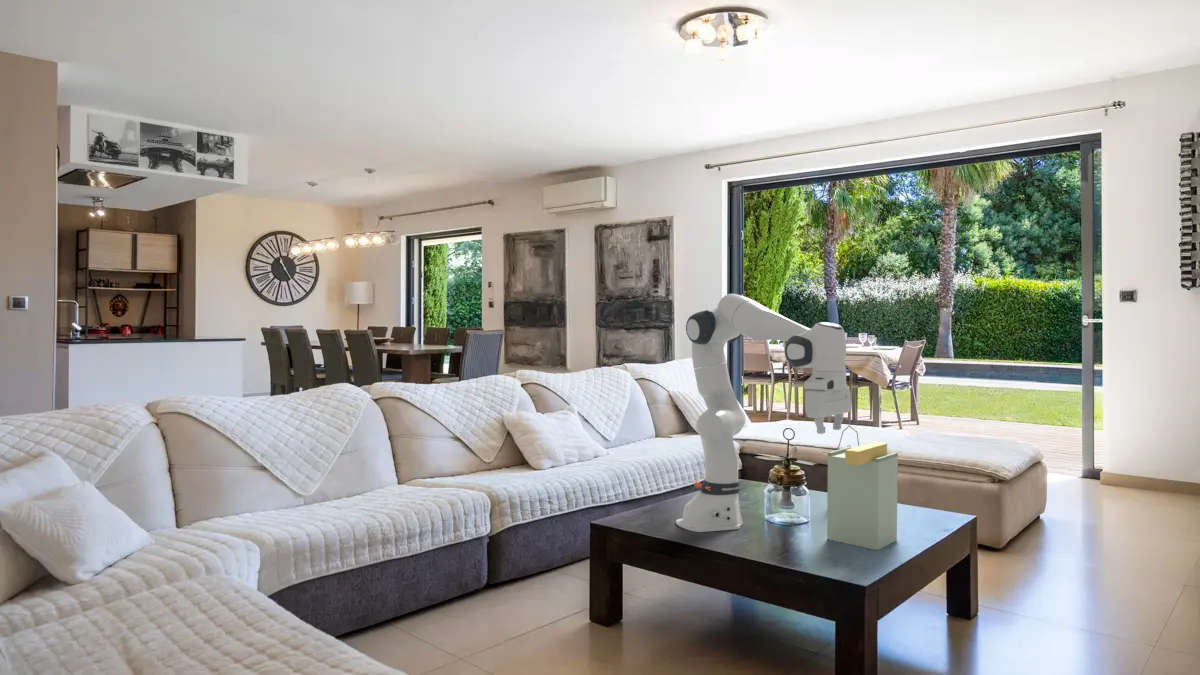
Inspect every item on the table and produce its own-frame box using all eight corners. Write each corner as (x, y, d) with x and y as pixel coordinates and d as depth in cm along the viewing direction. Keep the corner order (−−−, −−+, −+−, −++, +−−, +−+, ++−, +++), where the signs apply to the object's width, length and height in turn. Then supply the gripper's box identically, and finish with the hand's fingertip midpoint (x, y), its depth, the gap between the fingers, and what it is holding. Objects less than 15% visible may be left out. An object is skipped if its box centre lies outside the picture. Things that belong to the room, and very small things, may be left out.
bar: (858, 465, 223) (858, 451, 223) (845, 463, 226) (845, 450, 226) (887, 456, 238) (887, 443, 237) (874, 454, 240) (874, 441, 240)
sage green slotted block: (877, 550, 228) (878, 459, 228) (827, 539, 239) (827, 452, 239) (896, 540, 239) (897, 452, 238) (847, 530, 249) (848, 447, 249)
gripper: (835, 378, 223) (835, 426, 223) (800, 383, 208) (800, 434, 208) (856, 379, 219) (856, 428, 219) (822, 384, 204) (822, 436, 204)
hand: (829, 431), depth 213 cm, fingers open, 8 cm apart
